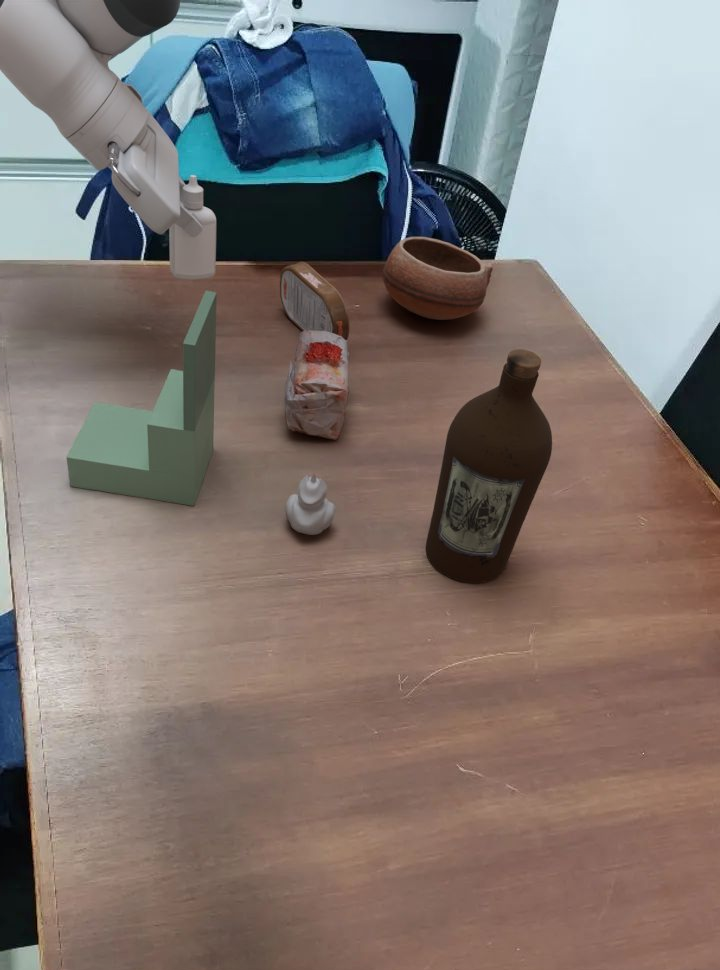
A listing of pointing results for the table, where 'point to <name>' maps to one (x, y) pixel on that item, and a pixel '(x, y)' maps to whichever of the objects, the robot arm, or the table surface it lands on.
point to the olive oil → (490, 475)
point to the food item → (318, 385)
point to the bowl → (436, 278)
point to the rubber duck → (310, 507)
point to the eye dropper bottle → (194, 239)
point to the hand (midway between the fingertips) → (197, 222)
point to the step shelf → (156, 429)
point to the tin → (312, 301)
